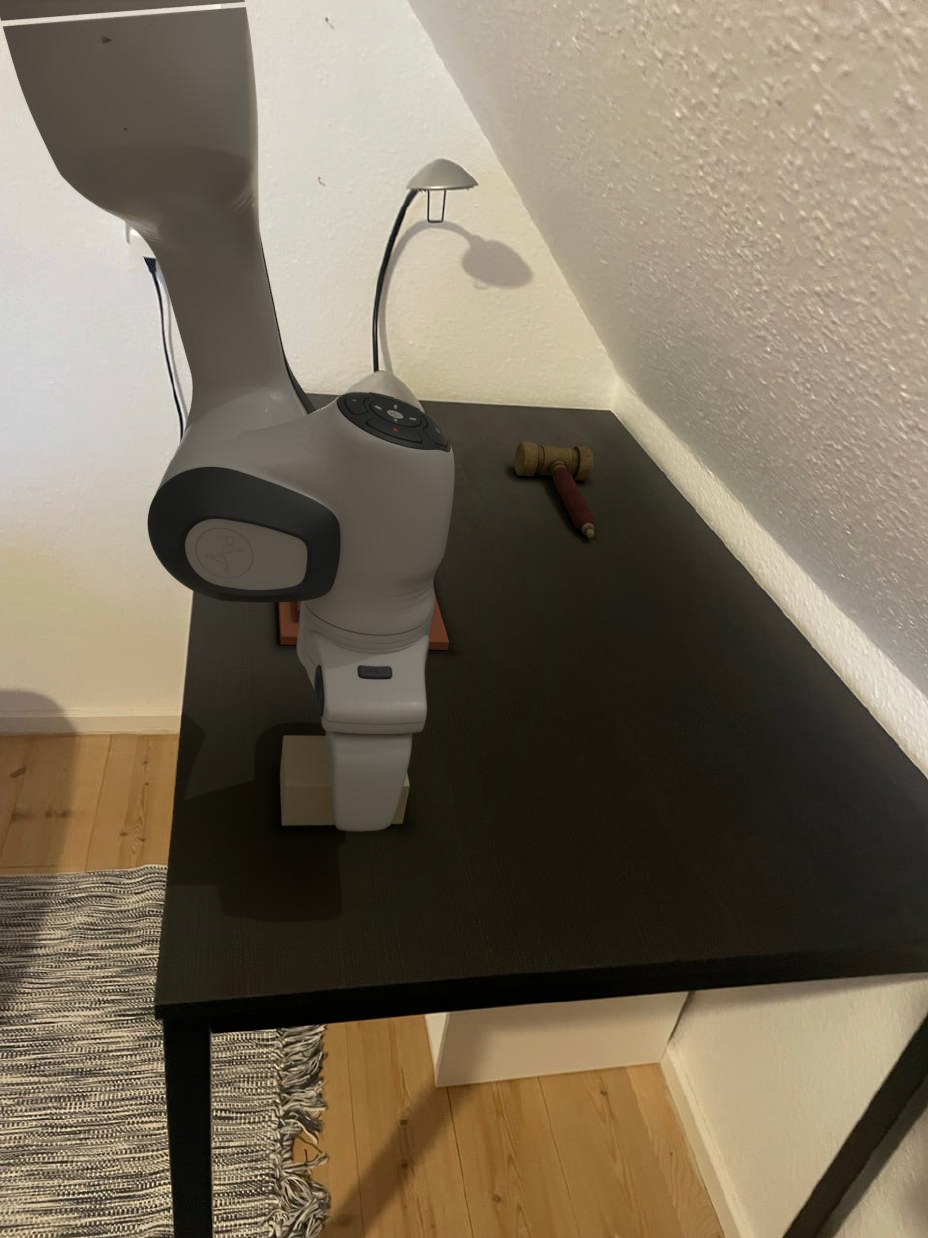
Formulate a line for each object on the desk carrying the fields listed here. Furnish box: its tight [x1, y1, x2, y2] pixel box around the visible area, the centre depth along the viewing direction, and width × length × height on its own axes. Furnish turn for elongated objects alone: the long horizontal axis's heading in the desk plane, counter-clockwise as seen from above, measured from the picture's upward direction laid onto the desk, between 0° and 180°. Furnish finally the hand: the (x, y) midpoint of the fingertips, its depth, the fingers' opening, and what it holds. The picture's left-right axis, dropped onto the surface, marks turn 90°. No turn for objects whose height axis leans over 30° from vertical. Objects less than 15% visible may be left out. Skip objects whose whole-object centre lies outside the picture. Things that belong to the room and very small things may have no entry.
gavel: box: [514, 441, 595, 539], centre depth 124 cm, size 21×5×10 cm
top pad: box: [279, 734, 411, 827], centre depth 71 cm, size 9×6×4 cm, turn 100°
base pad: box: [277, 595, 450, 651], centre depth 95 cm, size 16×14×2 cm
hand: (342, 782), depth 72 cm, fingers closed on top pad, 5 cm apart
